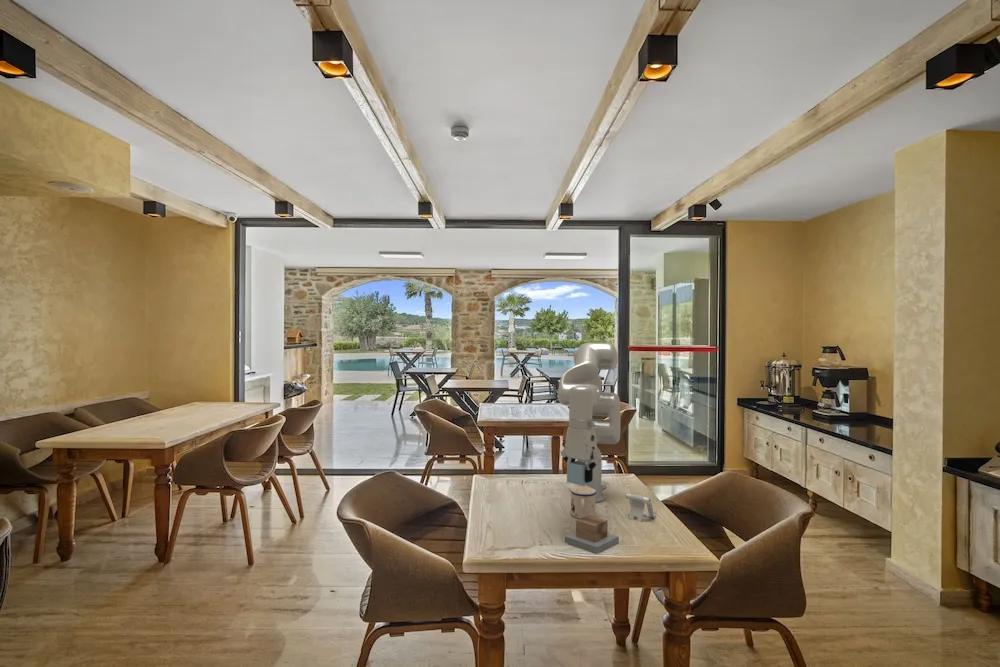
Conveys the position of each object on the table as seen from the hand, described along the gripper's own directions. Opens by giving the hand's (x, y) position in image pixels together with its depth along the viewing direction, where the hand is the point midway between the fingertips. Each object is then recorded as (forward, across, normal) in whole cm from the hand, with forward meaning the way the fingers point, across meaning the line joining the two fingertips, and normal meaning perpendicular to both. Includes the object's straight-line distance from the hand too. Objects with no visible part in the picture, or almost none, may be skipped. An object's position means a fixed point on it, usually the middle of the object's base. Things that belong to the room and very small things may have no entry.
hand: (580, 479), depth 171 cm
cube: (+1, 0, 0) cm, 1 cm away
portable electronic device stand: (+18, -5, -30) cm, 35 cm away
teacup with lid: (+18, +10, -16) cm, 26 cm away
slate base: (+18, -6, +2) cm, 19 cm away
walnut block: (+16, -6, +2) cm, 17 cm away
